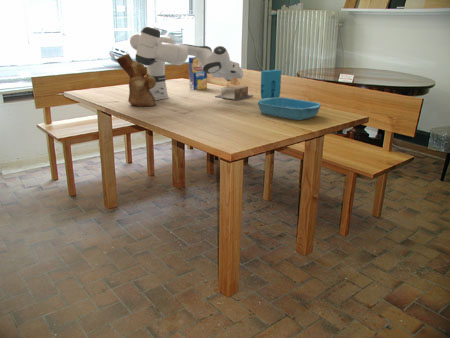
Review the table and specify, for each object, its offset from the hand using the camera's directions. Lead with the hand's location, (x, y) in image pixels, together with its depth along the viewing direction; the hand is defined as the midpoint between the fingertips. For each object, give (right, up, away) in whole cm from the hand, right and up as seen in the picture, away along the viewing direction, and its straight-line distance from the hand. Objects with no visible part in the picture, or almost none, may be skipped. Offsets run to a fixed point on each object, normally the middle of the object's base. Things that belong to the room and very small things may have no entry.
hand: (229, 80), depth 293 cm
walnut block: (-1, -9, -5) cm, 11 cm away
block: (+25, -18, -18) cm, 36 cm away
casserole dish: (+32, -28, -45) cm, 62 cm away
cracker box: (-22, +1, +36) cm, 43 cm away
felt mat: (+3, -10, +5) cm, 12 cm away
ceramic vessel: (-55, -19, -20) cm, 62 cm away
